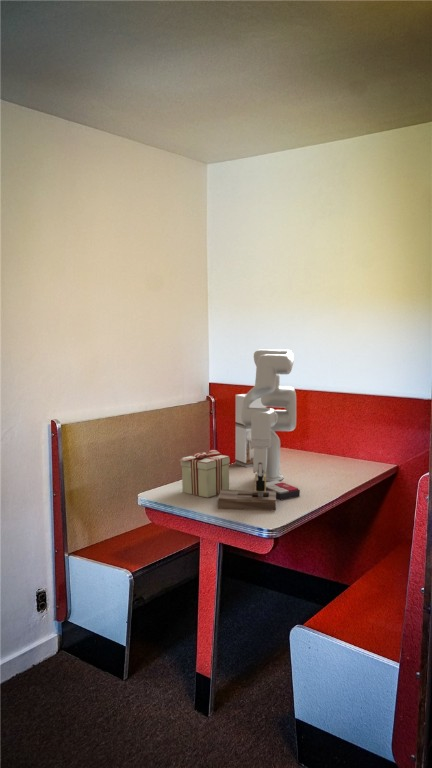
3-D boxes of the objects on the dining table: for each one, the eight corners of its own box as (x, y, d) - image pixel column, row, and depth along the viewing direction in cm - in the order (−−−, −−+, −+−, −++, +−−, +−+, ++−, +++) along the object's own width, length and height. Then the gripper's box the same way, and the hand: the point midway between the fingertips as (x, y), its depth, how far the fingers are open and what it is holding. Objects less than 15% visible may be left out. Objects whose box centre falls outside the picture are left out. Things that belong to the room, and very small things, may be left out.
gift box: (196, 484, 272) (196, 445, 271) (231, 490, 262) (231, 450, 260) (172, 492, 258) (172, 452, 257) (208, 500, 248) (208, 457, 246)
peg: (254, 502, 244) (254, 473, 243) (267, 502, 243) (267, 473, 242) (253, 505, 239) (253, 476, 238) (266, 506, 238) (266, 476, 237)
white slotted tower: (246, 467, 304) (246, 396, 300) (235, 463, 313) (235, 394, 310) (265, 464, 309) (266, 395, 305) (254, 460, 318) (255, 393, 315)
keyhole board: (221, 499, 249) (221, 489, 249) (275, 500, 247) (275, 490, 246) (218, 508, 236) (218, 498, 236) (275, 510, 234) (275, 500, 234)
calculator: (280, 492, 247) (256, 482, 259) (279, 502, 247) (256, 492, 260) (300, 488, 253) (276, 478, 265) (300, 498, 254) (276, 488, 266)
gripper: (252, 438, 247) (251, 483, 249) (250, 447, 231) (250, 494, 232) (270, 439, 246) (270, 483, 248) (270, 447, 230) (269, 495, 232)
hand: (260, 488), depth 240 cm, fingers closed on peg, 4 cm apart
